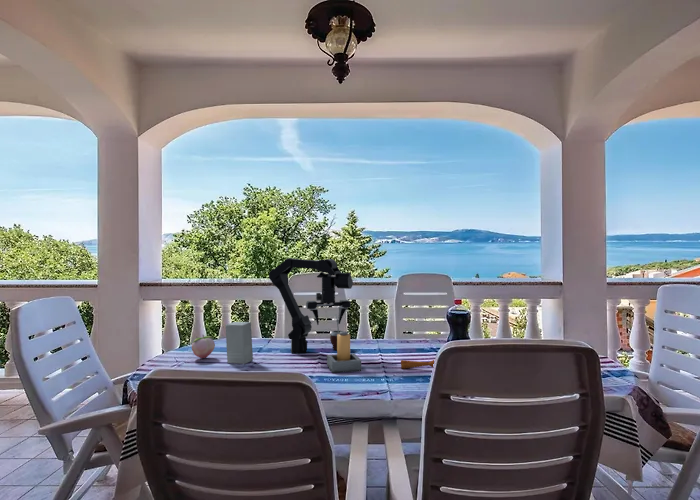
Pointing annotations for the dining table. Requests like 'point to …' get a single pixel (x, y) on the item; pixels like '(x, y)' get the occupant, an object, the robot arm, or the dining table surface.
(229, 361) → the skincare box
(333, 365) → the gray square dish
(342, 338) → the tan cylinder
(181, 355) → the dining table surface
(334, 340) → the mate gourd
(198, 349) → the decorative fruit
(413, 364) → the kendama
